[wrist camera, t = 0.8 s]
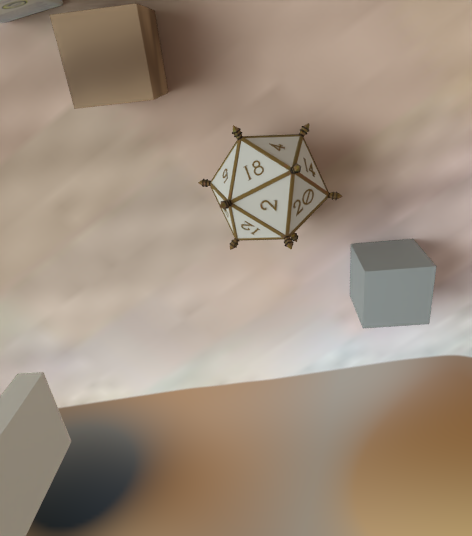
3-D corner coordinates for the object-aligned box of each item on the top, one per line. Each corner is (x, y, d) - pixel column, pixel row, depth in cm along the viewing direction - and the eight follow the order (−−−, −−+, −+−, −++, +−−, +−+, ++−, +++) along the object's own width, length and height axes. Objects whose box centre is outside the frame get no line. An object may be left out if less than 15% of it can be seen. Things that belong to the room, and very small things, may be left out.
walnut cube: (81, 20, 28) (49, 14, 24) (154, 10, 28) (136, 3, 23) (100, 100, 30) (74, 108, 26) (168, 92, 30) (153, 99, 25)
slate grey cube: (350, 243, 35) (364, 271, 30) (412, 238, 34) (436, 266, 30) (349, 295, 37) (362, 328, 33) (407, 290, 37) (429, 323, 32)
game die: (269, 138, 35) (330, 74, 25) (312, 231, 35) (389, 203, 26) (171, 177, 32) (198, 122, 22) (219, 277, 32) (265, 266, 23)
